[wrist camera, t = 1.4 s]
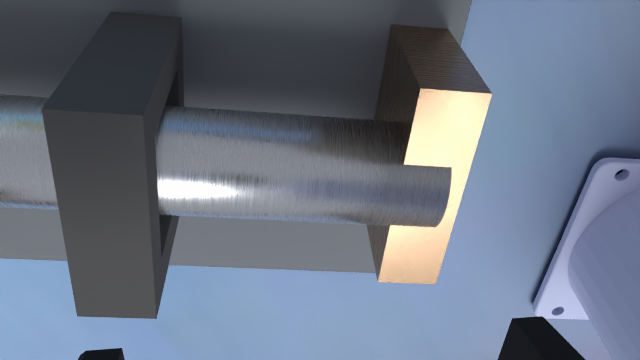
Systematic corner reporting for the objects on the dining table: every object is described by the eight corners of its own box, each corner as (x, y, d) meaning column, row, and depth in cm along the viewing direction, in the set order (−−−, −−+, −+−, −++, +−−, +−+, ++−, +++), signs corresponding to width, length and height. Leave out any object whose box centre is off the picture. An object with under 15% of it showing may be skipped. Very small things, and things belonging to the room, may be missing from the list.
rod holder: (448, 29, 18) (498, 103, 14) (409, 197, 22) (439, 296, 18) (-227, -30, 16) (-402, 38, 12) (-150, 167, 20) (-263, 271, 16)
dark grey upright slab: (181, 17, 17) (143, 115, 12) (185, 187, 20) (156, 318, 15) (110, 11, 17) (41, 108, 12) (126, 184, 20) (77, 316, 15)
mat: (494, -107, 16) (497, -105, 16) (401, 269, 24) (402, 274, 24) (-306, -197, 14) (-316, -196, 14) (-125, 247, 22) (-130, 253, 22)
